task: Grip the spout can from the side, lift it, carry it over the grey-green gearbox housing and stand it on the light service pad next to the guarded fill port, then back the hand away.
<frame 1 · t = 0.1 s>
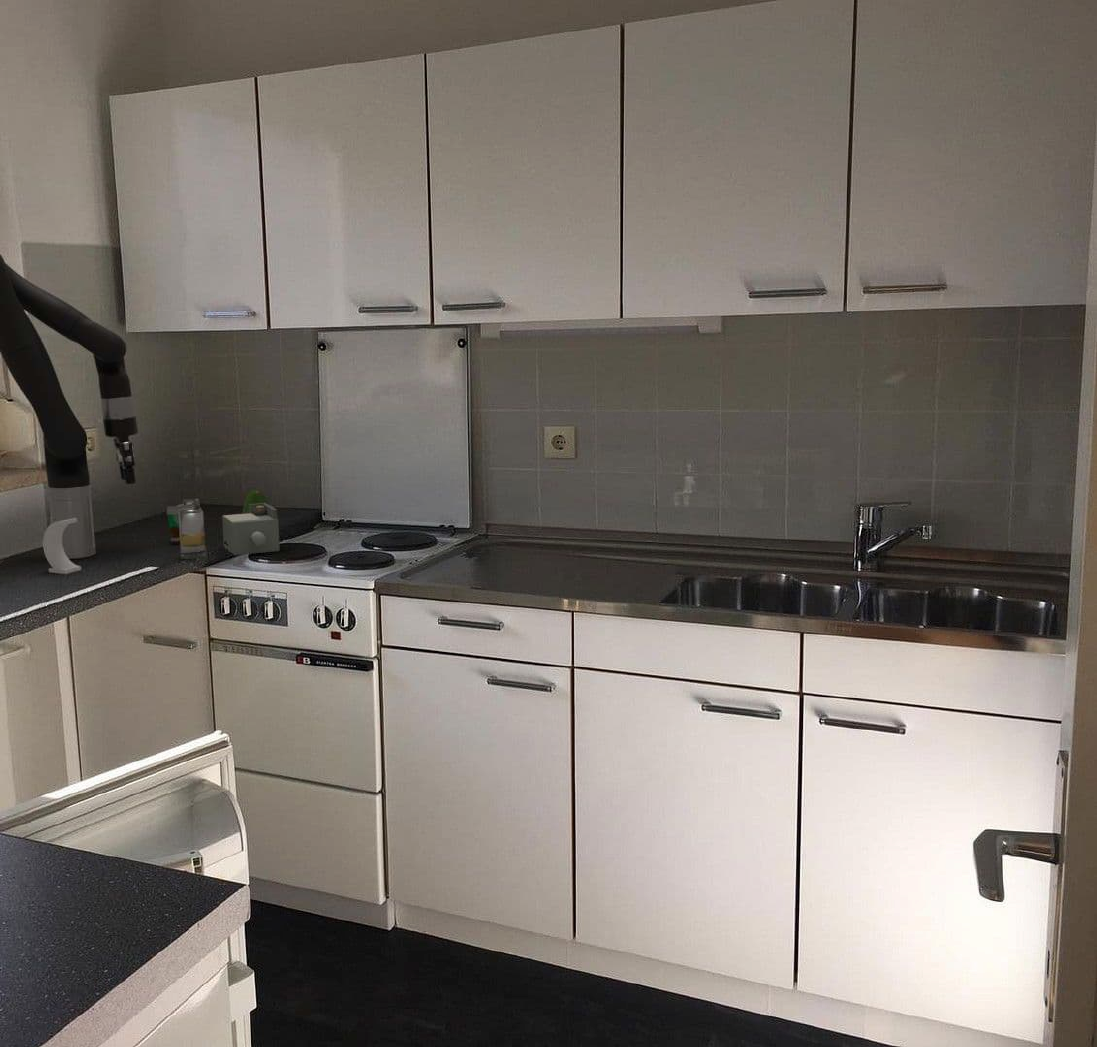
hand: (128, 481, 262), 17 cm above the countertop, tool pointing down, fingers open, 8 cm apart
food container: (189, 541, 277), on the countertop
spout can: (193, 556, 257), on the countertop
avocado: (258, 535, 285), on the countertop
headphone stand: (63, 571, 242), on the countertop
gearbox: (251, 548, 266), on the countertop
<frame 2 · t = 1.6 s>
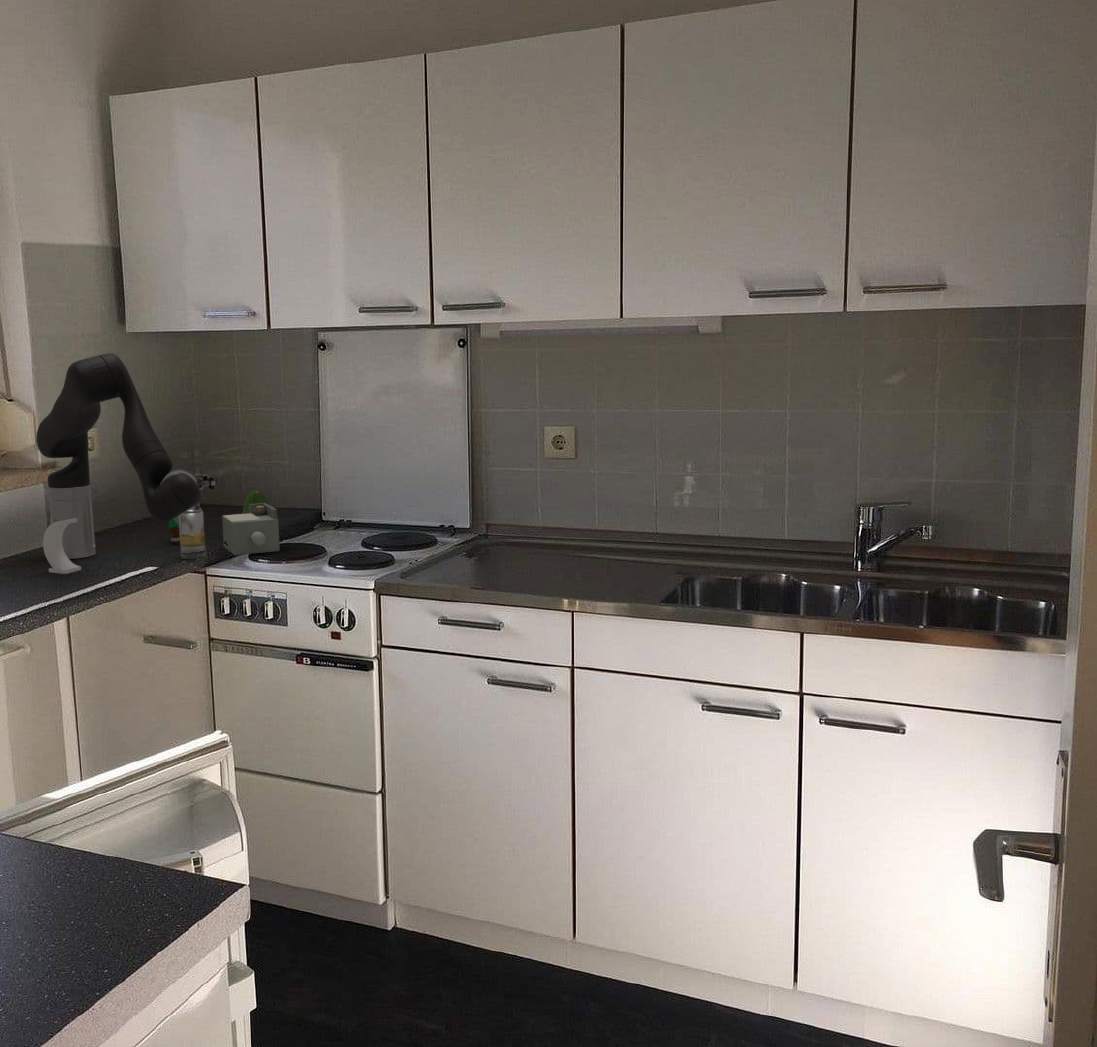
hand: (185, 479, 243), 20 cm above the countertop, tool horizontal, fingers open, 8 cm apart
nothing on the countertop moved.
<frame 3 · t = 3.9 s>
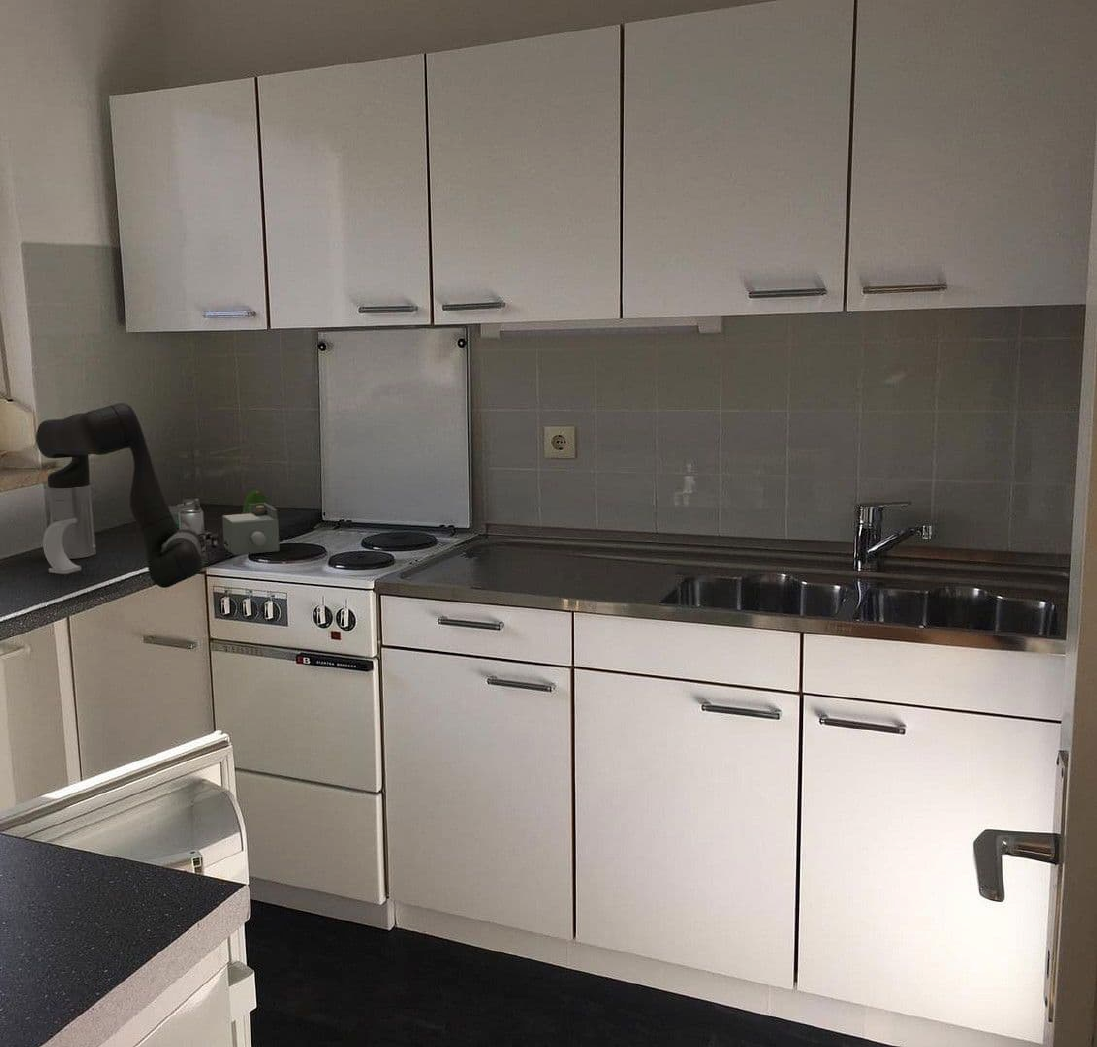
hand: (189, 535, 249), 6 cm above the countertop, tool horizontal, fingers open, 8 cm apart
nothing on the countertop moved.
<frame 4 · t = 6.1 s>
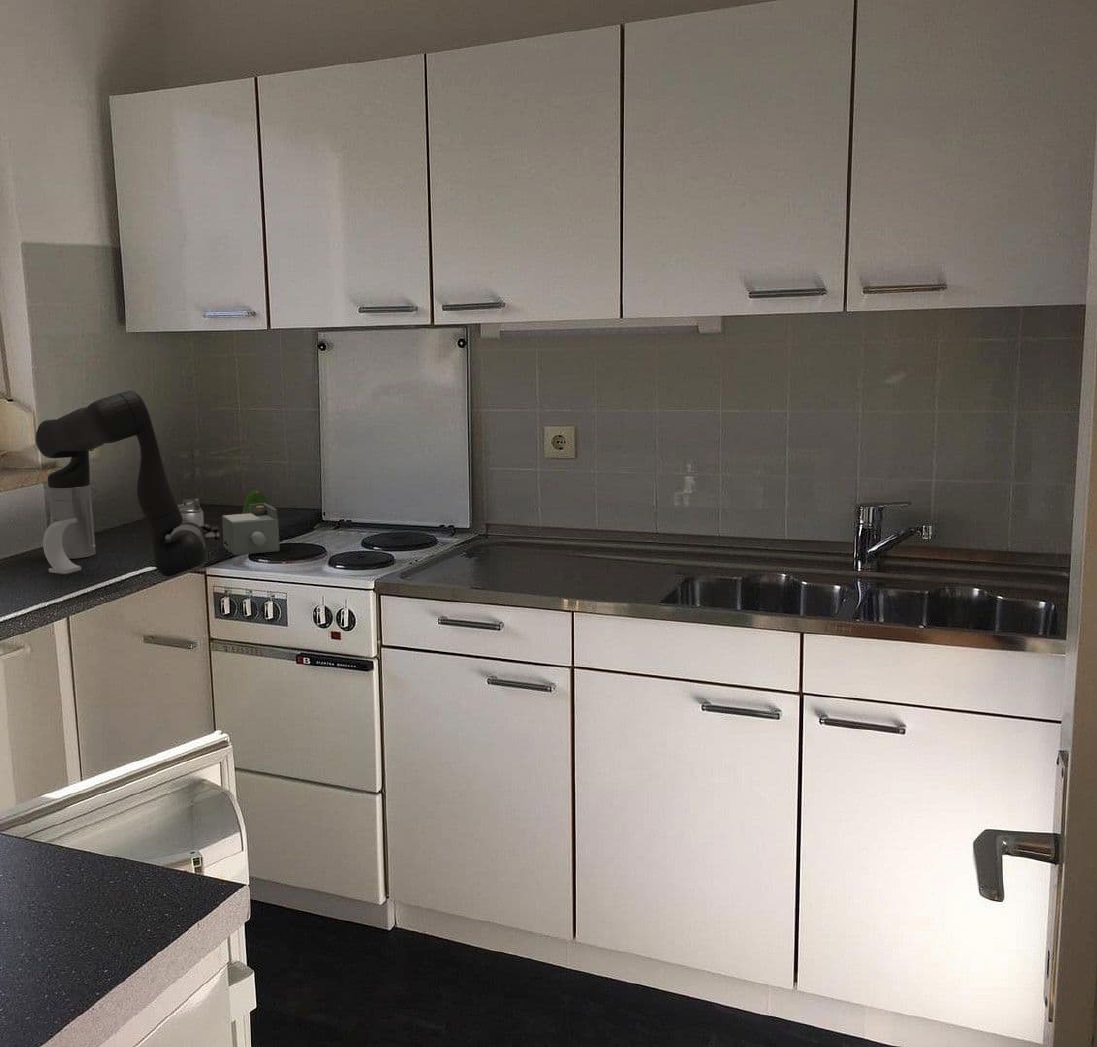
hand: (192, 528, 258), 7 cm above the countertop, tool horizontal, fingers closed on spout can, 5 cm apart
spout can: (193, 556, 257), on the countertop, touching gripper
everything else where it was.
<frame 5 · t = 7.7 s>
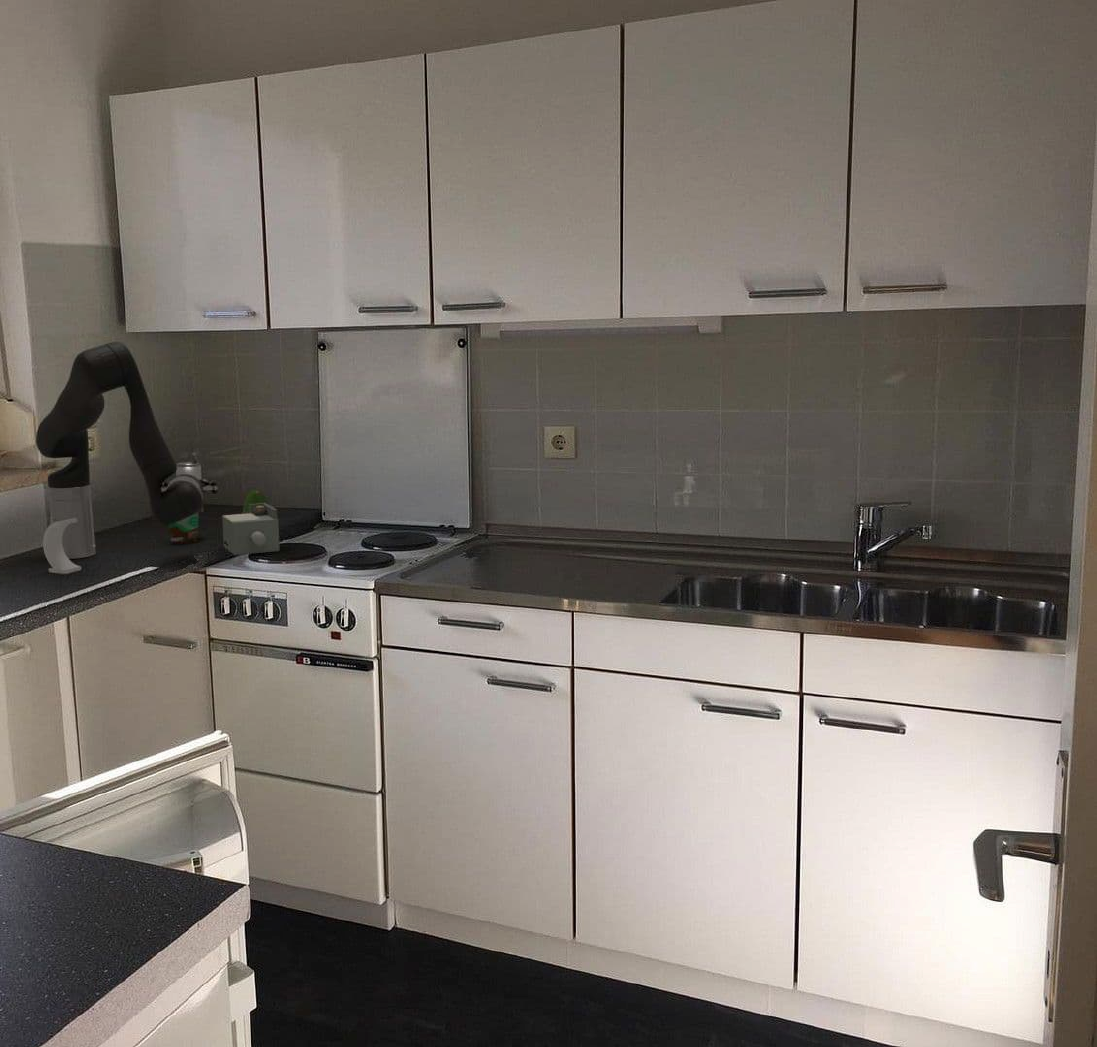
hand: (190, 483, 256), 18 cm above the countertop, tool horizontal, fingers closed on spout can, 5 cm apart
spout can: (191, 511, 255), point 11 cm above the countertop, touching gripper
everything else where it was.
when the fingers open (16 cm above the countertop, at t = 9.3 s): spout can stays where it is, resting on gearbox.
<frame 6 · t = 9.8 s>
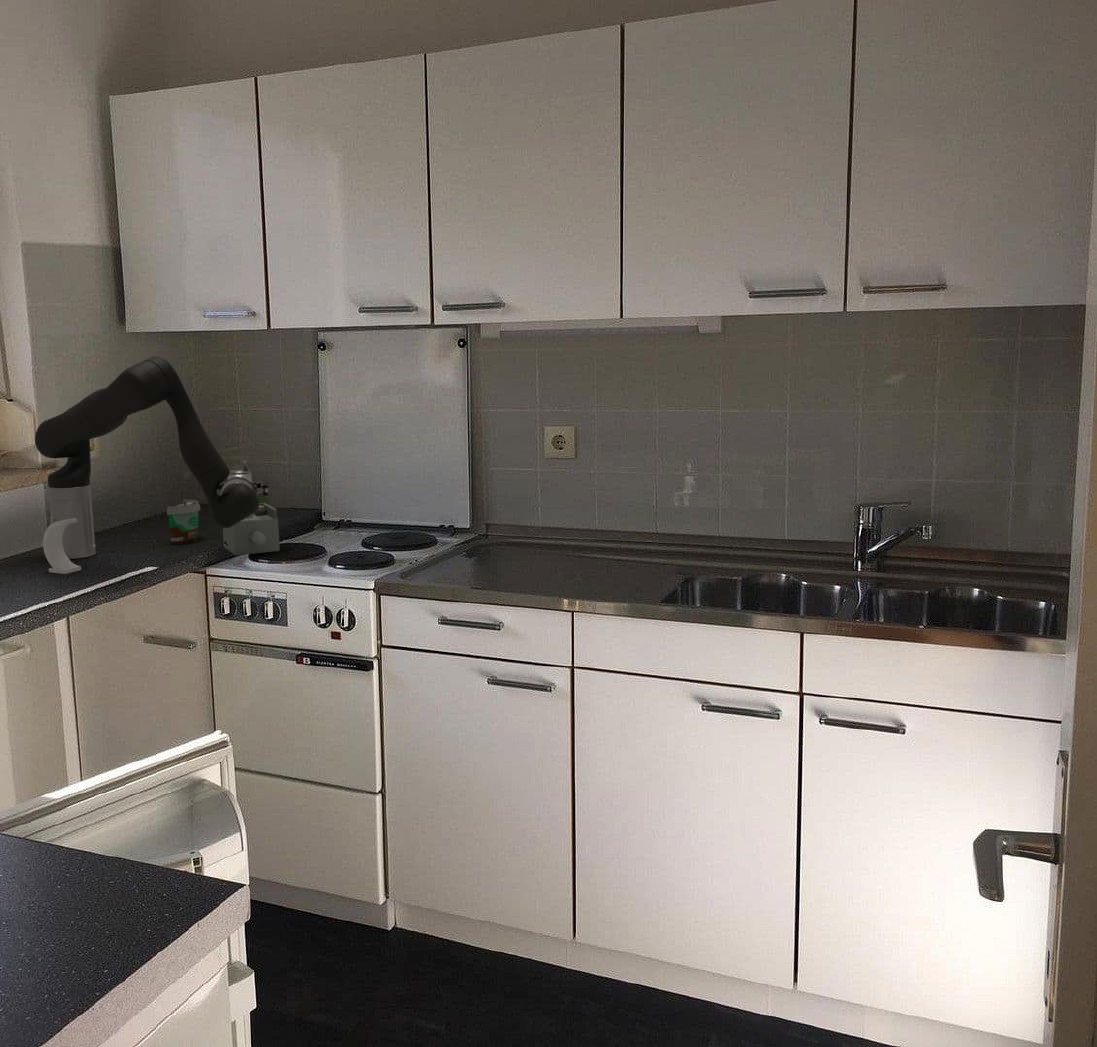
hand: (240, 485, 264), 16 cm above the countertop, tool horizontal, fingers open, 8 cm apart
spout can: (241, 517, 263), point 8 cm above the countertop, touching gearbox
everything else where it was.
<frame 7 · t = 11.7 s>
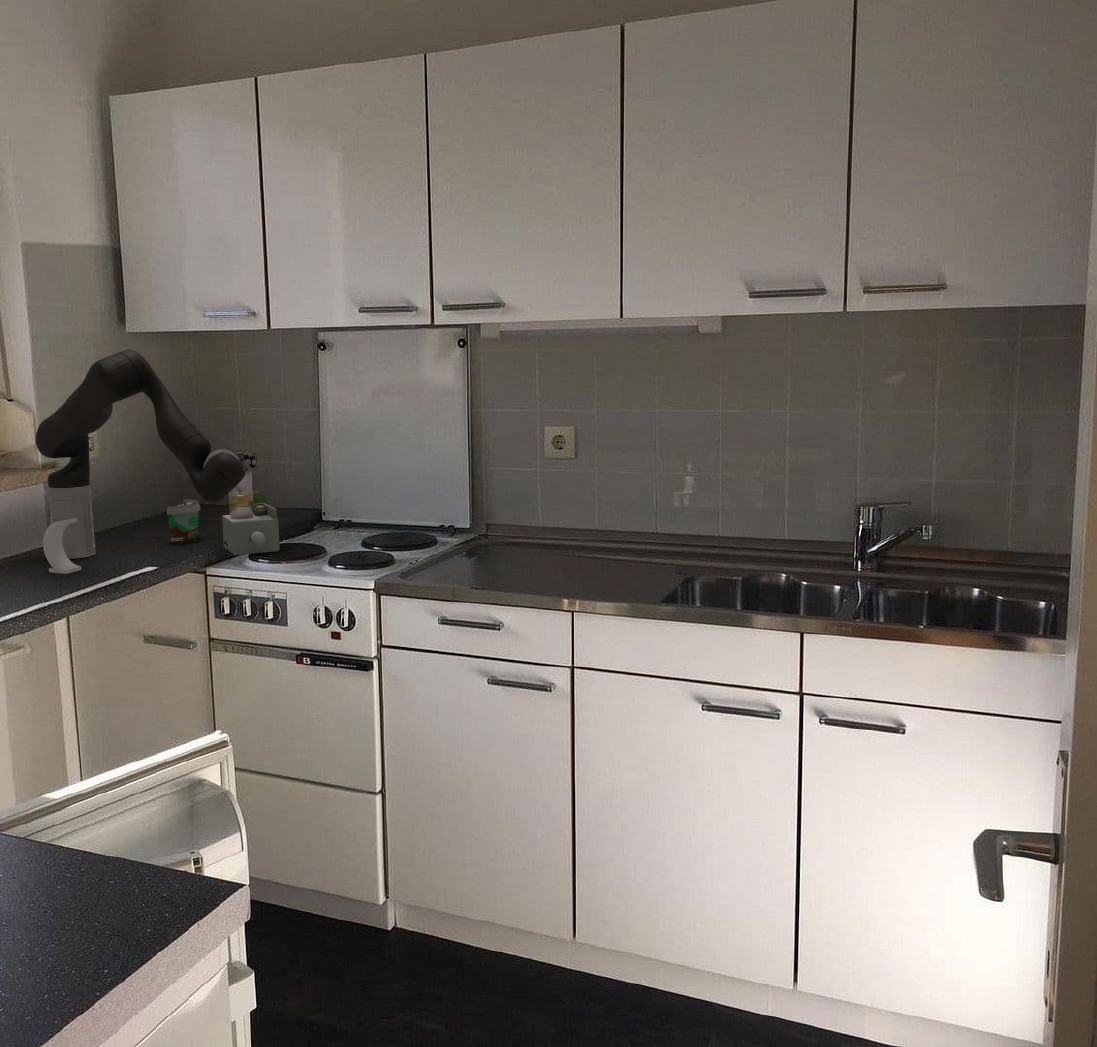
hand: (225, 456, 247), 25 cm above the countertop, tool horizontal, fingers open, 8 cm apart
nothing on the countertop moved.
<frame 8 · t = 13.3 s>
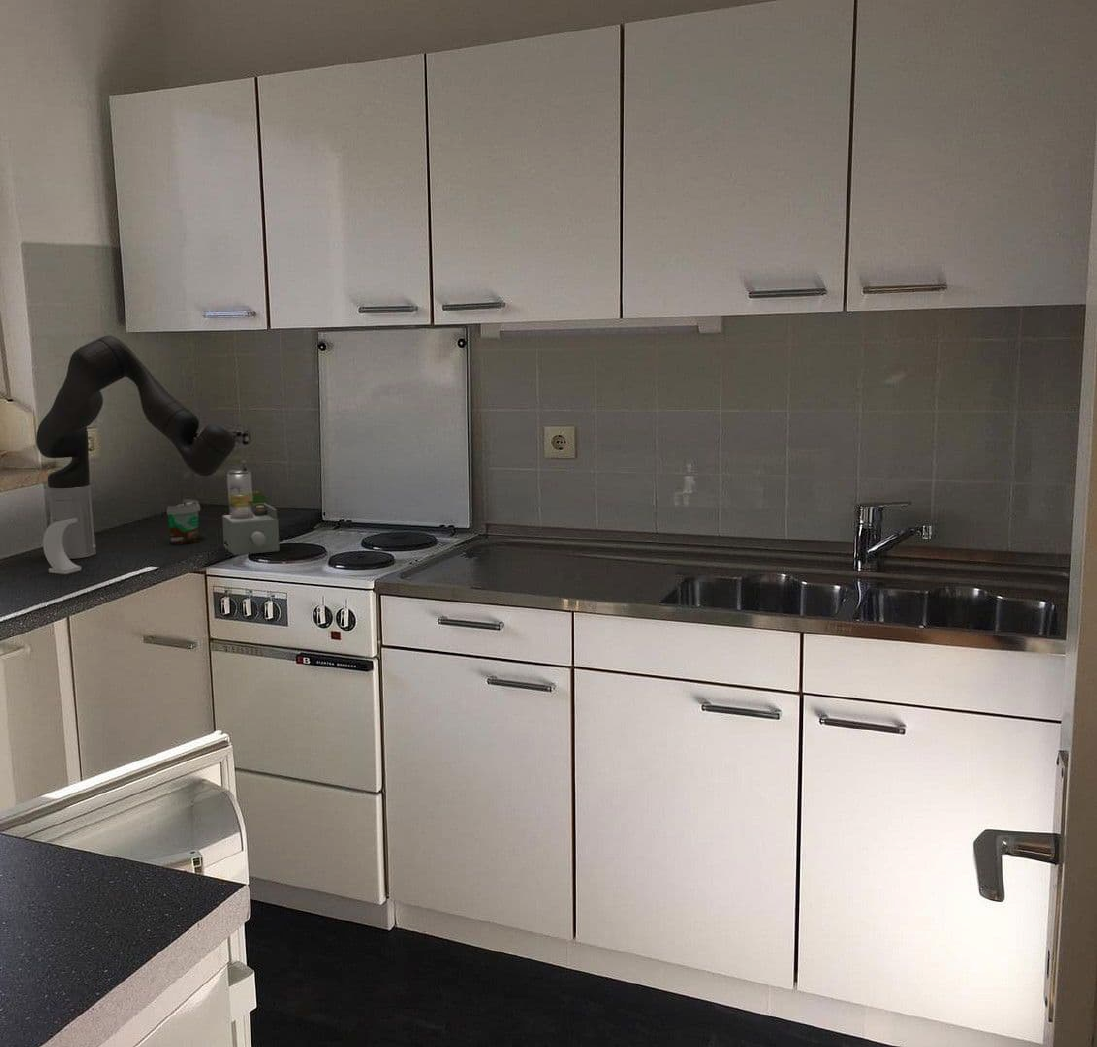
hand: (219, 435, 245), 30 cm above the countertop, tool horizontal, fingers open, 8 cm apart
nothing on the countertop moved.
at the end: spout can inside the target area on the gearbox (0.1 cm from its centre), point 8.2 cm above the gearbox's base; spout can tilted 1°; the gripper is holding nothing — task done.
